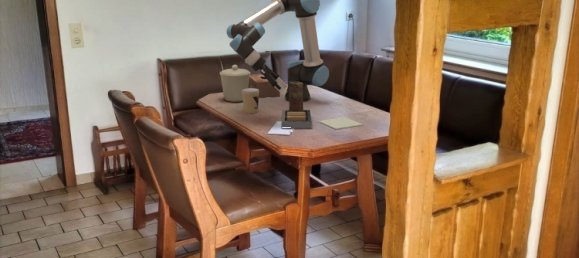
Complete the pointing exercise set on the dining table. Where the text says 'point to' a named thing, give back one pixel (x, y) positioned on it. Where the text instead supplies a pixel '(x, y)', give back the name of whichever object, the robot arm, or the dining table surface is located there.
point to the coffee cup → (250, 100)
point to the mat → (340, 123)
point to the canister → (234, 83)
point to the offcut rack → (297, 124)
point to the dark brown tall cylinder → (295, 96)
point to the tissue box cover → (262, 86)
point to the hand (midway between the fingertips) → (285, 90)
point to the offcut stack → (296, 116)
